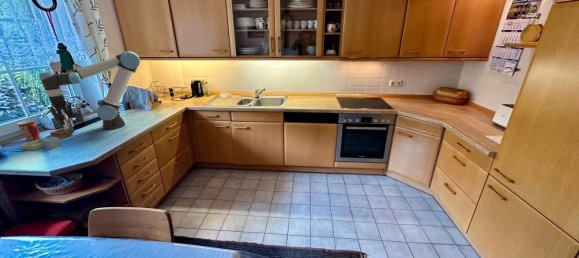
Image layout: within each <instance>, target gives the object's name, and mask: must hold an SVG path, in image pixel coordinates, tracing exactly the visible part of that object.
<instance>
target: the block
mask: <svg viewBox="0 0 579 258" xmlns="http://www.w3.org/2000/svg"><path fill="white" fill-rule="evenodd" d="M44 139H45V140H42V142H43V144H44V146H45V147H44V149H47V150H54V149H58V148H60V147H63V144H62V141H61V140H60V139H59V138H58V137H52V136H51V137H48V138H44Z"/></svg>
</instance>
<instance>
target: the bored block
mask: <svg viewBox="0 0 579 258" xmlns="http://www.w3.org/2000/svg"><path fill="white" fill-rule="evenodd" d="M49 134H50V136H51V137H58V138H59V139H60V141H61V140H64V139H67V138H70V137H72V136H73V133H71V134H69V133H68V130H67V129H65V128H60V129H57V130H54V131H50V132H49Z"/></svg>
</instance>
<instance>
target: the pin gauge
mask: <svg viewBox="0 0 579 258" xmlns="http://www.w3.org/2000/svg"><path fill="white" fill-rule="evenodd" d="M62 116H63V120H65V121H66V123H67V126H68V129H67V130H68V133H69V134H71V133H72V134H74V133H75V131H74V127H72V126H71V123H70V121H69V119H68V116H67V114H65V113H62Z"/></svg>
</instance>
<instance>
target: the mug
mask: <svg viewBox="0 0 579 258" xmlns="http://www.w3.org/2000/svg"><path fill="white" fill-rule="evenodd" d="M16 125H17V126H18V128H19V129H20V131H21V132H22V135H23V136H24V138H25V140H26V141H27V142H31V141H34V140H37V139H40V138H42V137H41V134H40V132H39V128H38V126H37V123H36V120H34V119H29V120H23V121H19V122H17V123H16Z"/></svg>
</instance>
